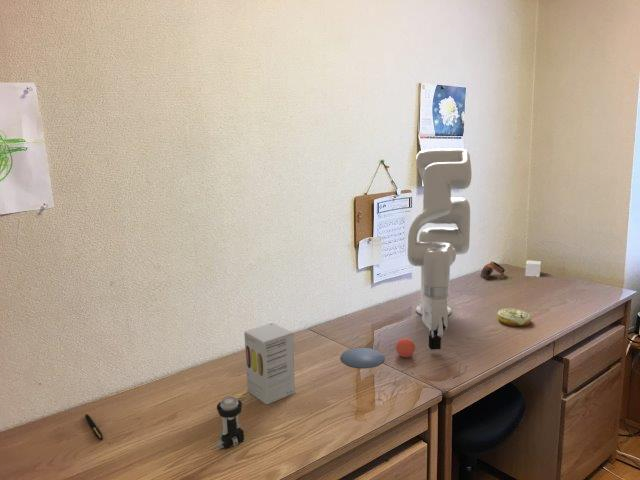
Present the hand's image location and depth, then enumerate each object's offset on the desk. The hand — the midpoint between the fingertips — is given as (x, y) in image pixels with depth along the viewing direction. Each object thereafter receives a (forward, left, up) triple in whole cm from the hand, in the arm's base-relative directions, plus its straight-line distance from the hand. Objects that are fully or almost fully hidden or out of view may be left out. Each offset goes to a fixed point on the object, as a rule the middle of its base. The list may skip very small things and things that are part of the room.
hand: (434, 348), depth 146 cm
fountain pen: (+26, -90, -2) cm, 94 cm away
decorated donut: (-20, +35, -2) cm, 40 cm away
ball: (+1, -9, +1) cm, 9 cm away
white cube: (-73, +71, -2) cm, 102 cm away
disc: (0, -22, -2) cm, 22 cm away
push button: (+37, -58, -2) cm, 69 cm away
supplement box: (+16, -49, -2) cm, 52 cm away
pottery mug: (-72, +50, -2) cm, 88 cm away
